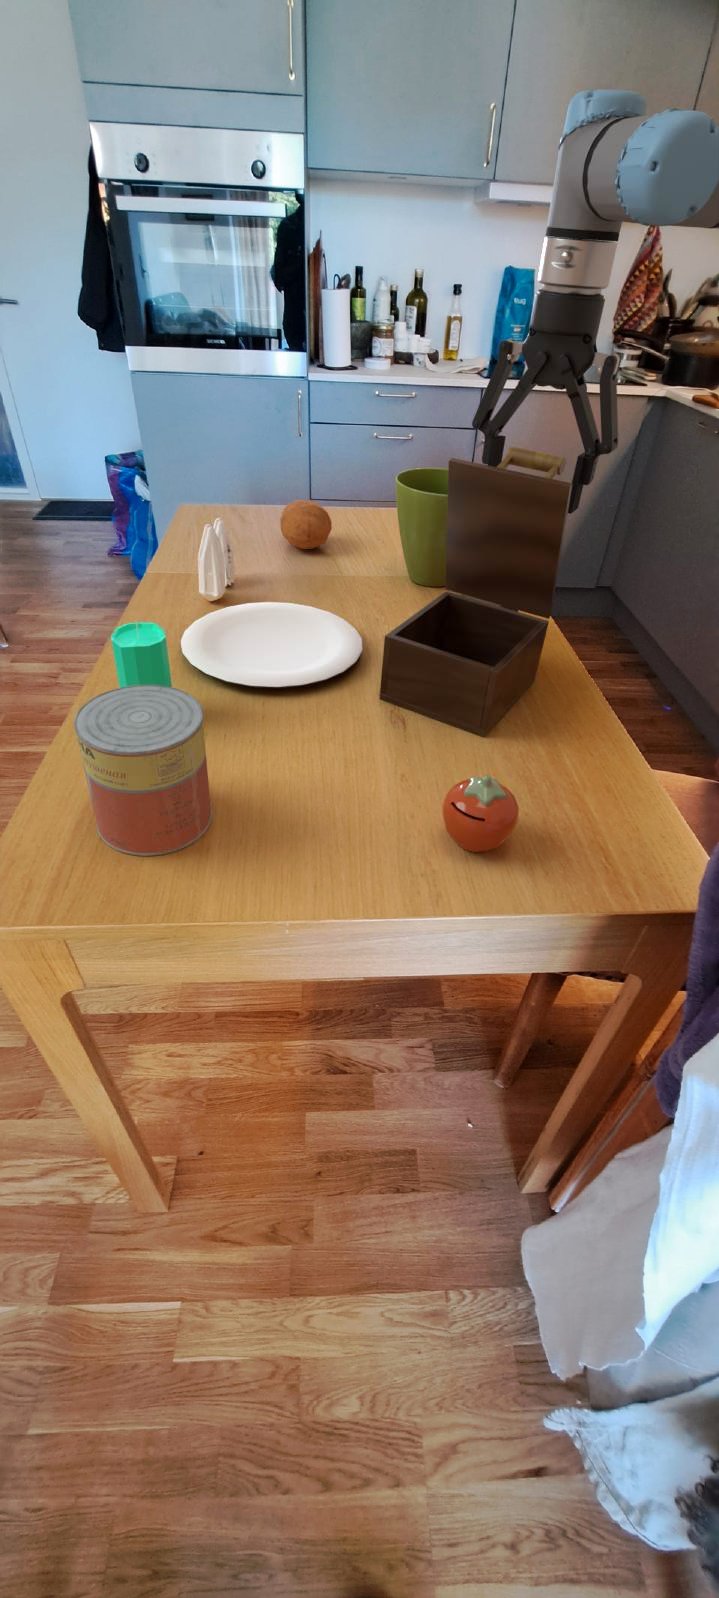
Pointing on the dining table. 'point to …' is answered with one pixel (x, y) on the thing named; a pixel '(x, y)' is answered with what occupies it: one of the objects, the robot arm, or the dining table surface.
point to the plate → (271, 645)
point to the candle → (141, 655)
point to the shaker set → (215, 561)
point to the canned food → (146, 768)
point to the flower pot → (423, 523)
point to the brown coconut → (305, 524)
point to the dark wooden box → (462, 661)
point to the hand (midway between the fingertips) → (529, 500)
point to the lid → (507, 530)
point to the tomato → (480, 813)
